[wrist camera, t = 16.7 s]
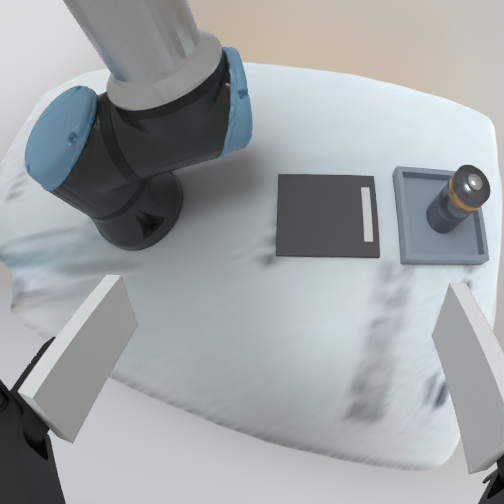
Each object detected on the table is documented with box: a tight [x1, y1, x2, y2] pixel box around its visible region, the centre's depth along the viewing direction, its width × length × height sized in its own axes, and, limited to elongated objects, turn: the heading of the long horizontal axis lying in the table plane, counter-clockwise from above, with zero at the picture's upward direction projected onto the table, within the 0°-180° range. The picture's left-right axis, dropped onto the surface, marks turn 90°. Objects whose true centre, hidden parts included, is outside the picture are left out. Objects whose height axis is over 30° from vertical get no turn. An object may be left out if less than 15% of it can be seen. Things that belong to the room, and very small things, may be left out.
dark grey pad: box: [276, 174, 380, 258], centre depth 43 cm, size 14×12×1 cm
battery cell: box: [426, 165, 490, 234], centre depth 35 cm, size 5×5×12 cm
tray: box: [393, 166, 489, 264], centre depth 40 cm, size 14×14×2 cm
